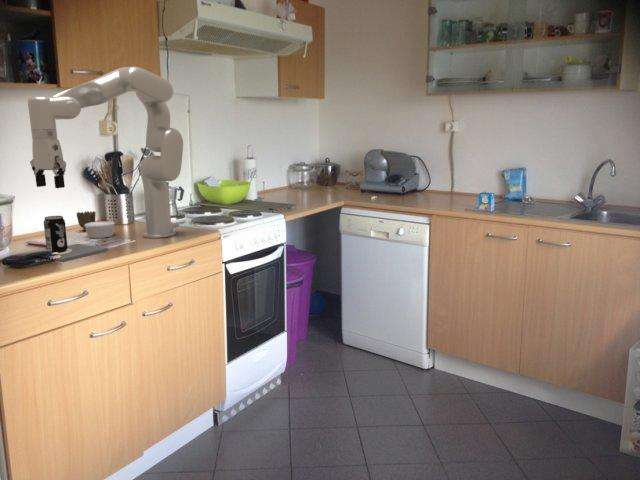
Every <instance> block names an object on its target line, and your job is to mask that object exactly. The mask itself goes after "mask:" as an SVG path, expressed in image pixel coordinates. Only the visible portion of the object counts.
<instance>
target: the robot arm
mask: <svg viewBox="0 0 640 480" xmlns="http://www.w3.org/2000/svg"><path fill="white" fill-rule="evenodd" d="M128 92H135V95H136V97H137V98H138V100H139V101H140V102H141V104H143V106H144V107H145V109H146V114H147V125H146V133H145V145H146V147H147V149H148V150H149V151H151V152H154V153H160V155H148V156H146V157H144V158H143V159H142V160H141V162H140V163H139V173H140V177H141V182H142V186H143V187H142V188H143V196H144V197H143V198H144V210H145V211H144V212H145V222H146V223H145V226H146V231H144V232H142V236H143V237H144V238H150V239H158V238H160V239H161V238H162V239H163V238H169V237H173V236H175V235H176V230H174V229H175V228H179V227H180V223H179V222H178V221H177V222H174V223H173V222H172V221H171V207H170V206H171V205H170V202H171V201H170V190H169V185H168V183H167V182H172V181H173V182H174V181H175V180H176V179H178V178H179V176H180V175H181V171H182V165H183V164H182V163H183V152H184V139H183V136H182V134H181V132H180V131H179V130H178V129H176V128H174V127H171V113H170V109H169V107H168V105H167V102H169V101H170V100H171V99H172V98H173V94H174V89H173V86H172V85H171V82H169V81H168V79H166V78H163V77H162V76H159V75H157V74H155V73H154V72H151V71H149V70H146V69H144V68H141V67H139V66H125V67H119V68H117V69H114V70H112V71H110V72H107V73H105V74H103V75H101V76H98V77H96V78H95V79H92V80H89V81H85V82H84V83H81V84H79V85H77V86H73V87H70V88H69V89H66V90H63V91H61V92H58V93H56V94H54V95H52V96H50V97H49V96H31V97H28V99H27V107H28V114H29V115H28V116H29V123H30V131H31V138H32V139H31V140H32V145H31V147H32V159H31V160H30V161H29V164H30V165H31V169H32V171H33V175H34V177H35V183H36V185H35V186H36V187H37V188H40V187H46V186H47V182H46V174H45V171H52V172H53V175H54V176H53V179H54V187H55V189H62V188H65V187H66V184H65V177H64V176H65V174H66V168H67V161H65V160H64V156H63V149H62V145H61V143H60V140H59V138H58V132H57V122H56V120H73V119H76V118H77V117H78V116H79V115H80V113H81V110H82V109H84V108H88V107H95V106H100V105H102V104H105V103H106V104H107V103H108V102H109V101H112V100H114V99H115V98H118V97H120V96H123V95H124V94H126V93H128Z"/></svg>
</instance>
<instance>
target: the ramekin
mask: <svg viewBox="0 0 640 480" xmlns="http://www.w3.org/2000/svg"><path fill="white" fill-rule="evenodd" d="M115 225H116V223H115V222H113V221H107V220H106V221H105V220H104V221H95V222H91V223H87V224H85V225H84V226H85V228H86V235H87V237H88V238H89V237H90V239H106V238H105V237H107V238H111V237H112V236H113V235H114V231H115Z"/></svg>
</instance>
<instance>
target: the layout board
mask: <svg viewBox="0 0 640 480" xmlns="http://www.w3.org/2000/svg"><path fill="white" fill-rule="evenodd" d="M67 246H68V249H67V250H66V251H65V252H61V253H59V254H60V256H61V257H60V258H58V259H57V260H55V261H56V262H63V263H64V262H67V261H68V262H69V261H72V260H75V259H80V258H84V257H88V256H92V255H96V254H101V253H105V252H108V250H109V248H108V247H102V246H97V245H96V246H94V245H90V244H89V245H87V244H82V243H74V244H70V245H67ZM45 251H47V249H46V250H45Z"/></svg>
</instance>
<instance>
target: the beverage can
mask: <svg viewBox="0 0 640 480" xmlns="http://www.w3.org/2000/svg"><path fill="white" fill-rule="evenodd" d="M43 227H44V228H43V229H44V237H45V238H44V240H45V247H46V250H47V251H52V252H58V253H61V252H65V251H66V250H67V249H68V246H69V245H68V238H67V227H66V221H65V219H64V217H63V215H50V216H49V215H48V216H45V217H44V220H43Z"/></svg>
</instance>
